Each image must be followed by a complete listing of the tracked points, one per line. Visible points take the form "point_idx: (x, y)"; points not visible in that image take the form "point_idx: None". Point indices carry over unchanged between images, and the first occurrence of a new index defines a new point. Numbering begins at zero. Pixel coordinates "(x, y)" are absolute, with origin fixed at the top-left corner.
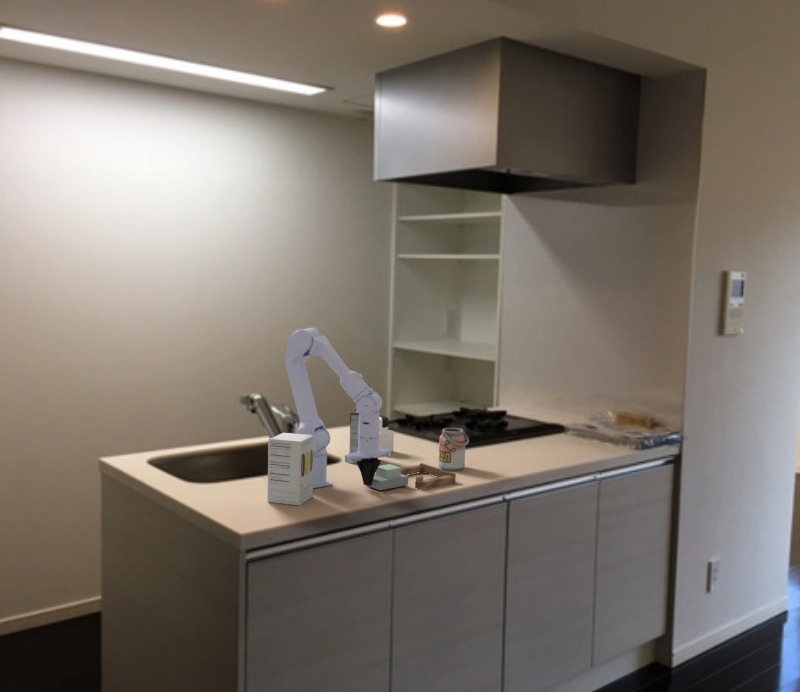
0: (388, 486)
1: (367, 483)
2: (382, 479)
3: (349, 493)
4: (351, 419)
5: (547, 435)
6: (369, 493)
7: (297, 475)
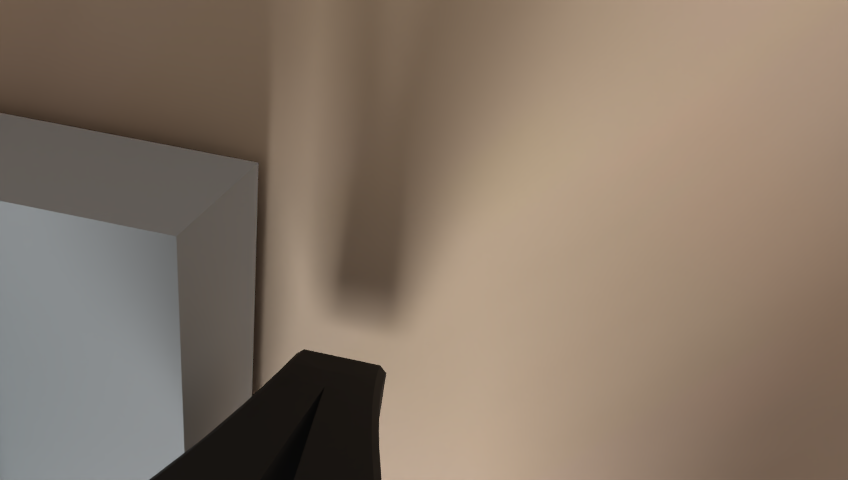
0: (42, 140)
1: (379, 404)
2: (45, 298)
3: (691, 427)
4: None
5: None
6: (463, 225)
7: None
